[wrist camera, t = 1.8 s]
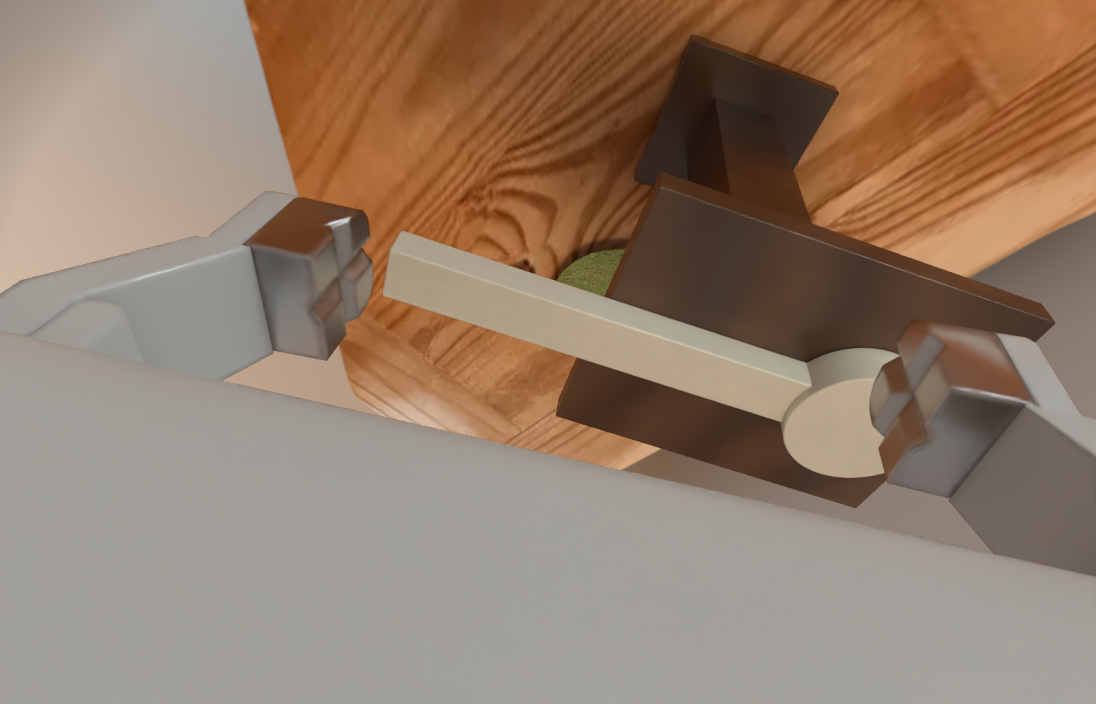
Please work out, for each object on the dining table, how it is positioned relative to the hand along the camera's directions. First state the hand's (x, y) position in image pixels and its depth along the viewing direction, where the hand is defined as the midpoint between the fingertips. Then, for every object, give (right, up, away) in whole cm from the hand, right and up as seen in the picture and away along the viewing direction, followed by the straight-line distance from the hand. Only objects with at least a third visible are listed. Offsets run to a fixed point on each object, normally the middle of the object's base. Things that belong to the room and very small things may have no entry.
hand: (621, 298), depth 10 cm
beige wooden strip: (+3, 0, +16) cm, 16 cm away
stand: (+11, +14, +35) cm, 40 cm away
